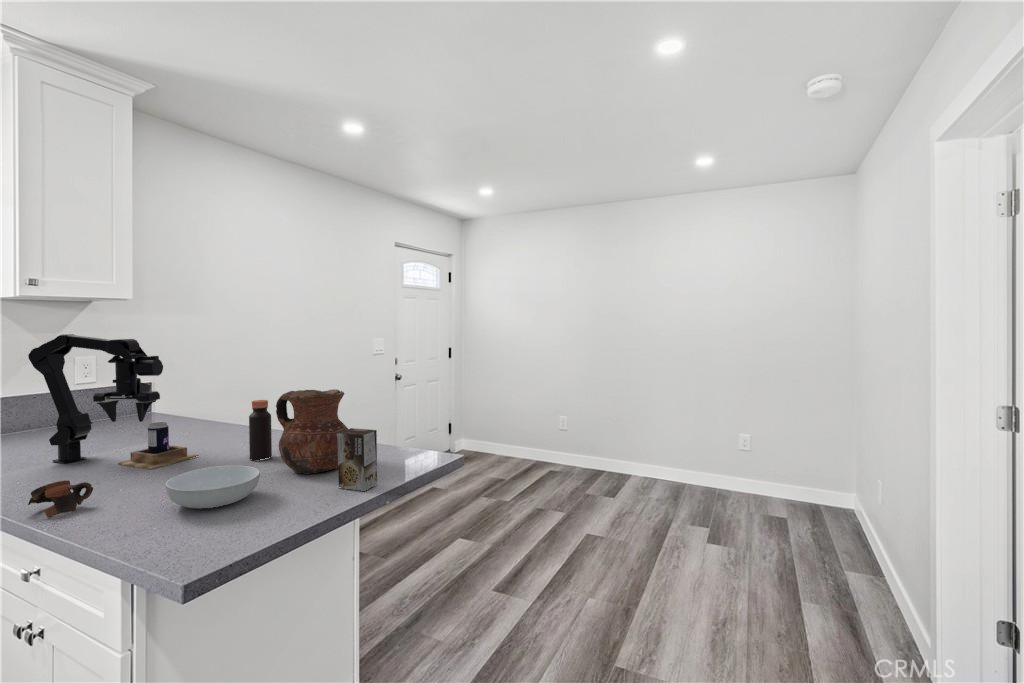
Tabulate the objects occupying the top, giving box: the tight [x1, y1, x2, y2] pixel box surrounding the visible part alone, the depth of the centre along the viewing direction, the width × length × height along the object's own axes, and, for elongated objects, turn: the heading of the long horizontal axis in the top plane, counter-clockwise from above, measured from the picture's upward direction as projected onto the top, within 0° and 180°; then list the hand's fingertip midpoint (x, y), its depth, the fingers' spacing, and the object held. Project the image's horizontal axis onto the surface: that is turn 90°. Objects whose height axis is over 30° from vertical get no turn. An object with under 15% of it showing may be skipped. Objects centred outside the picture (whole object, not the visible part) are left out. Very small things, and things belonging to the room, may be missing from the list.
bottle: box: [248, 399, 273, 461], centre depth 167 cm, size 7×7×20 cm
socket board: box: [117, 444, 200, 470], centre depth 164 cm, size 16×16×4 cm
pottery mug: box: [27, 480, 94, 518], centre depth 121 cm, size 12×10×8 cm
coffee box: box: [337, 427, 378, 492], centre depth 138 cm, size 9×6×16 cm
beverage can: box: [147, 421, 170, 454], centre depth 164 cm, size 6×6×12 cm
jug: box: [275, 389, 349, 474], centre depth 156 cm, size 22×21×25 cm
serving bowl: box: [165, 464, 261, 509], centre depth 126 cm, size 21×21×7 cm
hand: (127, 421), depth 165 cm, fingers open, 9 cm apart
